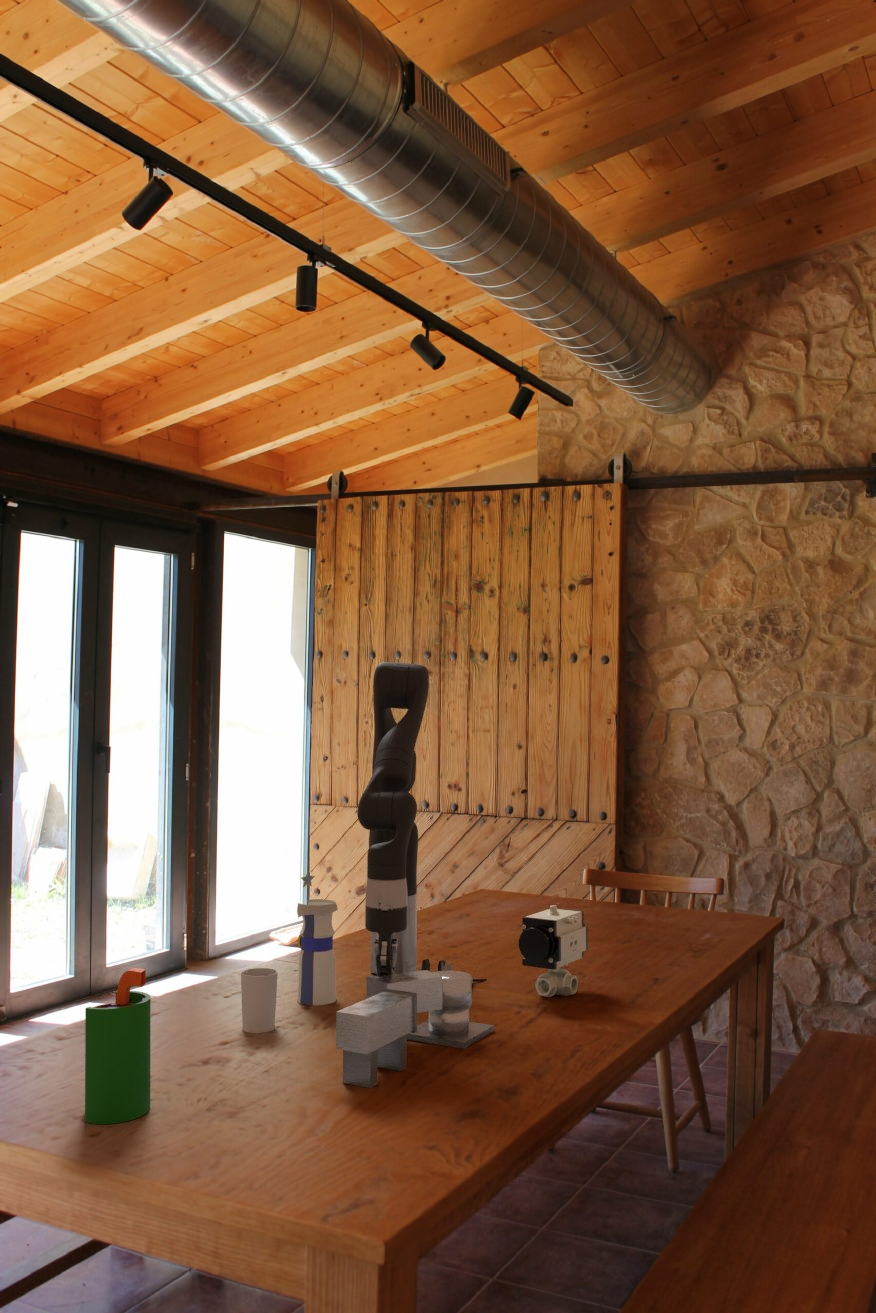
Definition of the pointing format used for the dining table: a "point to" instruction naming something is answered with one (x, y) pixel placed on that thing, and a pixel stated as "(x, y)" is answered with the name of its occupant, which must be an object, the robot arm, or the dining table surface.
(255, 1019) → the white cup
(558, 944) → the ball valve
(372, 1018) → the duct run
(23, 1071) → the dining table surface
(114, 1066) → the green container with spout
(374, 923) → the robot arm
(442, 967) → the bike brake
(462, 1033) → the duct stub
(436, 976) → the elbow
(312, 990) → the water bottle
